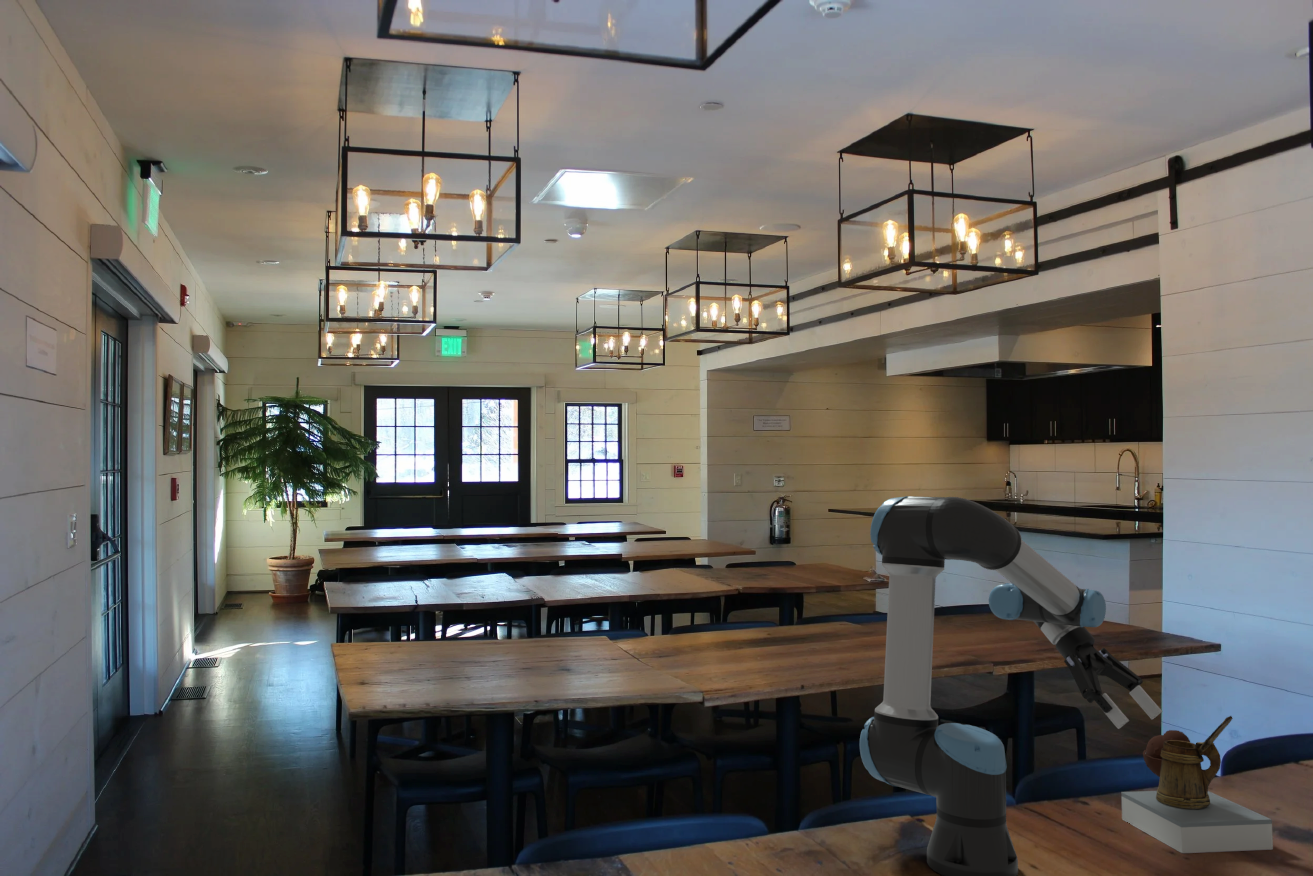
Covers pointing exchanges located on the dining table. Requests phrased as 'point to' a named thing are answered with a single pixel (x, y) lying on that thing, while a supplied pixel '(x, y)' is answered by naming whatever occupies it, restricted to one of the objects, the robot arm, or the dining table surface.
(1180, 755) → the wooden mug
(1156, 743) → the ice cream bowl
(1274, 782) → the dining table surface
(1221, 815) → the grey flat block
